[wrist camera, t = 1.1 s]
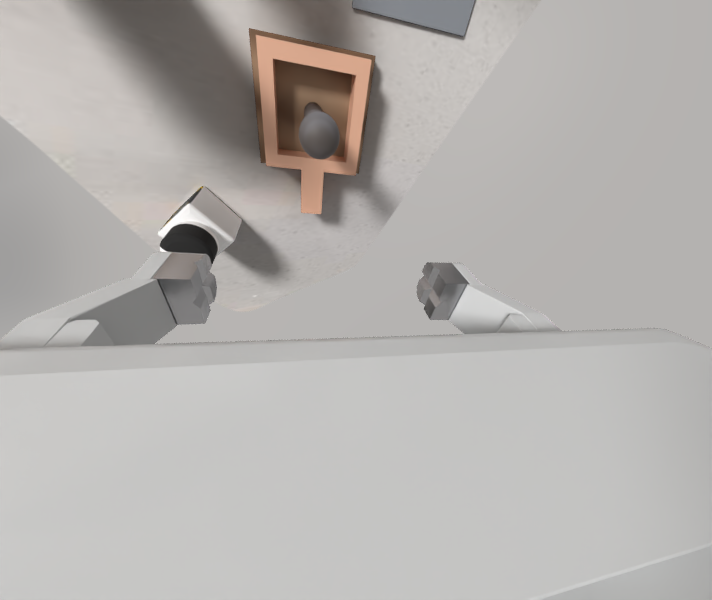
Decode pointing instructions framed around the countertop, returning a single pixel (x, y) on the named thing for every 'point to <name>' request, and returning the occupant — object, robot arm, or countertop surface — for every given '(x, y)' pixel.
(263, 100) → the frame
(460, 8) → the mat
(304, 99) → the stand
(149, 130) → the countertop surface
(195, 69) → the countertop surface
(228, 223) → the medicine bottle
